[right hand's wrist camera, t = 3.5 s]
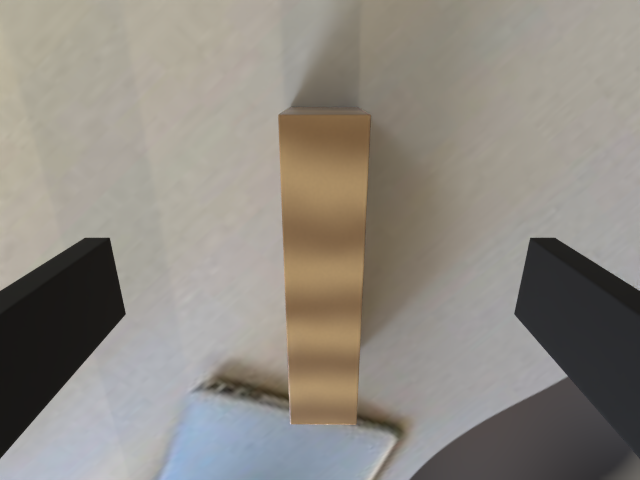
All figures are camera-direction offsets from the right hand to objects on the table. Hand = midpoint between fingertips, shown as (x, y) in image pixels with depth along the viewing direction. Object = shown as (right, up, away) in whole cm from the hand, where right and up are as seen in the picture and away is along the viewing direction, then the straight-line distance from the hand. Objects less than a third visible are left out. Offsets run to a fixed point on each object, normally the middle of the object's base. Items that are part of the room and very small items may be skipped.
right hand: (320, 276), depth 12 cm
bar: (0, 0, +23) cm, 23 cm away
